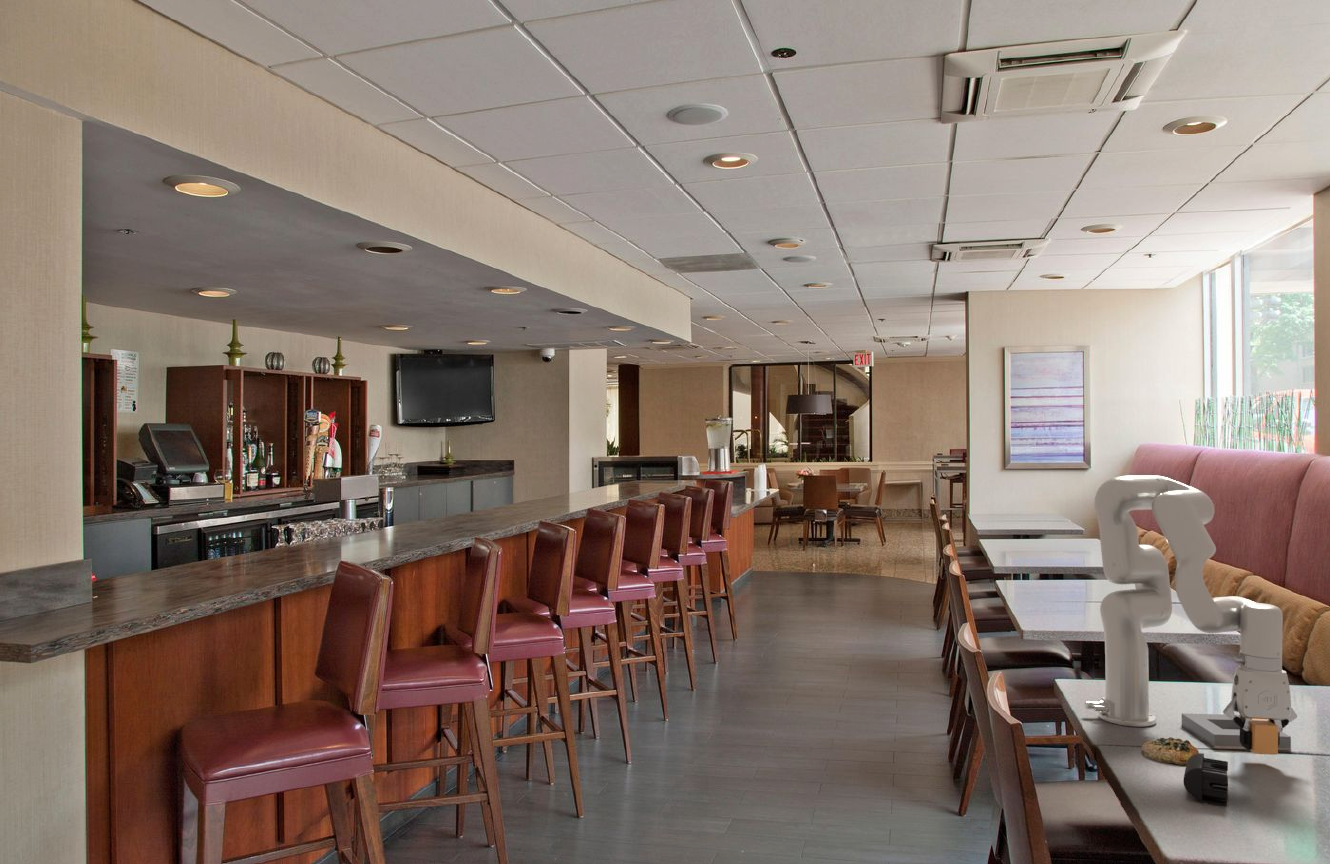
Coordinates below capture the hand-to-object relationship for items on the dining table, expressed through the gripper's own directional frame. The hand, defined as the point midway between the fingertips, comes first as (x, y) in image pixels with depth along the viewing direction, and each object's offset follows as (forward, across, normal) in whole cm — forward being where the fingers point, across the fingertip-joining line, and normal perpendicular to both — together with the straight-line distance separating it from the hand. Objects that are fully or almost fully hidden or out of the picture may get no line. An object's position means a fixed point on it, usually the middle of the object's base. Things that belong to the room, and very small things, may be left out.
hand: (1259, 747), depth 195 cm
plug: (0, 0, 0) cm, 0 cm away
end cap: (+4, -20, -20) cm, 28 cm away
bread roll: (+4, -17, +3) cm, 17 cm away
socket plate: (+4, +3, +17) cm, 18 cm away
